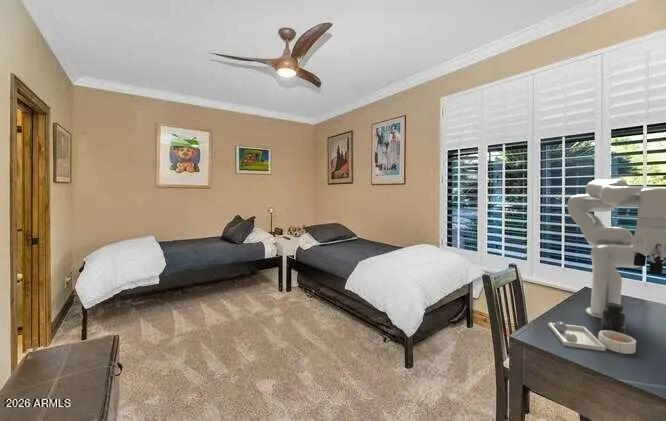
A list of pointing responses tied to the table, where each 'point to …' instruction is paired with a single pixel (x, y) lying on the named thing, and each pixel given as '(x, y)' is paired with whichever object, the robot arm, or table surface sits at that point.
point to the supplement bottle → (613, 318)
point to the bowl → (615, 345)
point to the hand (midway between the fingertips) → (647, 269)
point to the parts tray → (578, 337)
